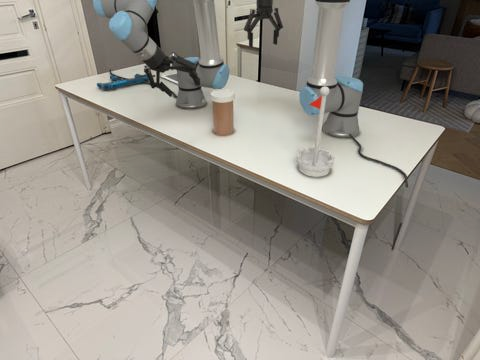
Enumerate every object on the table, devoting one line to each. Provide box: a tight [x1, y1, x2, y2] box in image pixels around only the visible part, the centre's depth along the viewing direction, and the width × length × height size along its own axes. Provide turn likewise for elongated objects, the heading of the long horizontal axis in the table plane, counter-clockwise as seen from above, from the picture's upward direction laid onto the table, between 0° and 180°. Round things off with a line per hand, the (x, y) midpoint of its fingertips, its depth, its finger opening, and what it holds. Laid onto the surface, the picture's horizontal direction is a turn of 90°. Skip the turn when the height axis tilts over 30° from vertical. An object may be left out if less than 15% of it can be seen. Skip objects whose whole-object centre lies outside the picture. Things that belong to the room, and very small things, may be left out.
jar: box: [211, 100, 235, 136], centre depth 145 cm, size 9×9×17 cm
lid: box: [209, 88, 236, 103], centre depth 141 cm, size 10×10×2 cm
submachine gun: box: [96, 73, 156, 91], centre depth 208 cm, size 34×4×25 cm
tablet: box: [160, 71, 178, 85], centre depth 214 cm, size 32×20×1 cm, turn 41°
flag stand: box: [296, 87, 335, 178], centre depth 114 cm, size 13×13×30 cm
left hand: (185, 88), depth 135 cm, fingers open, 13 cm apart
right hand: (263, 45), depth 167 cm, fingers open, 13 cm apart
